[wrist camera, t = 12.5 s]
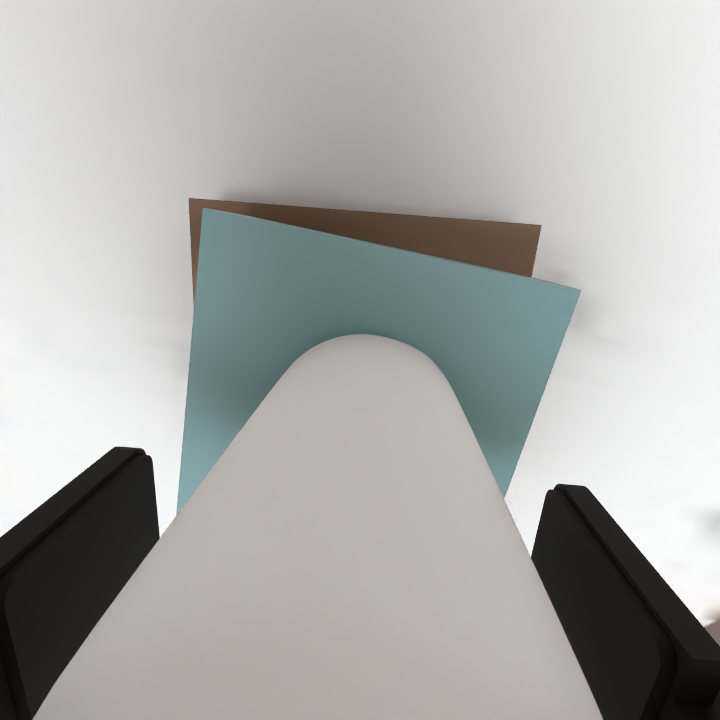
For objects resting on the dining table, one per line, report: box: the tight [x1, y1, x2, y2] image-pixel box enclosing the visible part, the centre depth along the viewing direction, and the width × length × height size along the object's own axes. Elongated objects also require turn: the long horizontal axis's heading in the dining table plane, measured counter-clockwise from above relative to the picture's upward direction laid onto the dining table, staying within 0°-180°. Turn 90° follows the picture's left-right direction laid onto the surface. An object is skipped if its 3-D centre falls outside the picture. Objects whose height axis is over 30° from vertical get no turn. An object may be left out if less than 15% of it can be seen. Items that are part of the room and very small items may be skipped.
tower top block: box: [176, 208, 581, 516], centre depth 16 cm, size 12×12×4 cm
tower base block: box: [189, 198, 541, 305], centre depth 20 cm, size 14×14×4 cm
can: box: [33, 334, 603, 720], centre depth 8 cm, size 6×6×12 cm
